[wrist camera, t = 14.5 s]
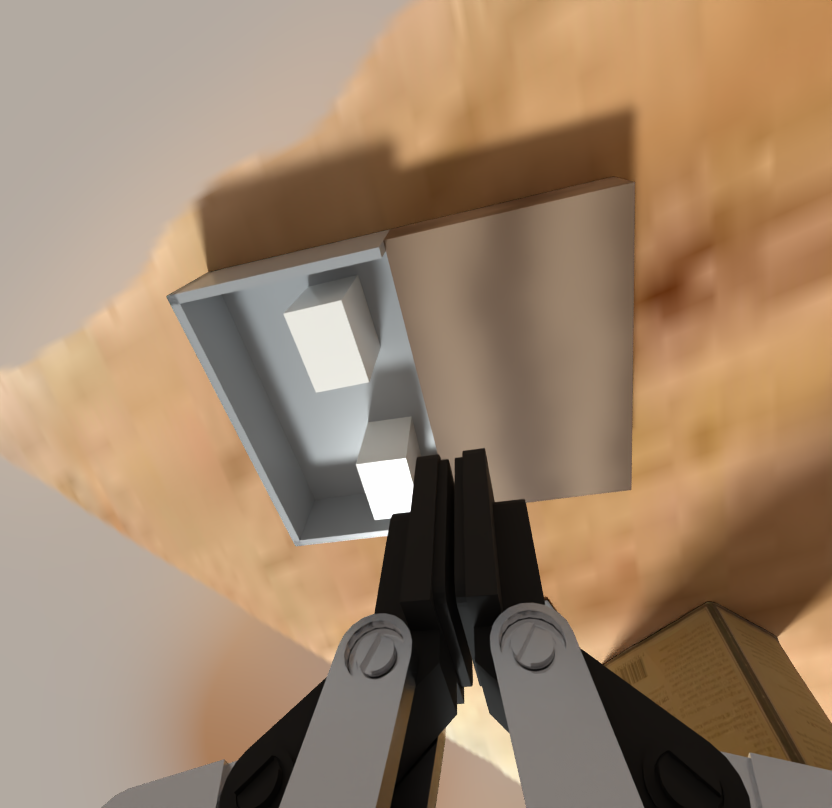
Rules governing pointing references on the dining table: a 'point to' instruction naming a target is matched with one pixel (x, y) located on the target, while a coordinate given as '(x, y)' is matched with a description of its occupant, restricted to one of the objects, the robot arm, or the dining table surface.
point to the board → (527, 336)
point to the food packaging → (730, 687)
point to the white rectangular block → (334, 334)
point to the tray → (303, 382)
